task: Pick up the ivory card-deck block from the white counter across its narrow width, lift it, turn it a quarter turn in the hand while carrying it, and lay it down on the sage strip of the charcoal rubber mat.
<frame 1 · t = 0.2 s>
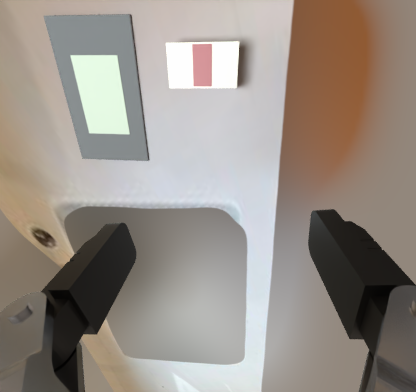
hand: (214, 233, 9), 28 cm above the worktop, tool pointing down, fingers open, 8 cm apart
card deck: (205, 68, 31), on the worktop
mat: (103, 97, 34), on the worktop
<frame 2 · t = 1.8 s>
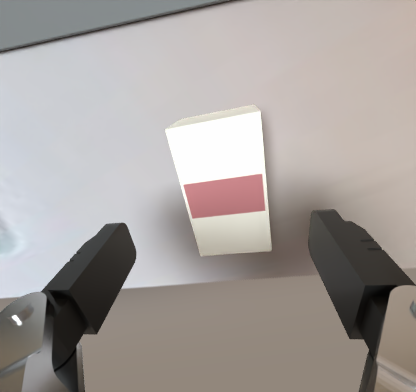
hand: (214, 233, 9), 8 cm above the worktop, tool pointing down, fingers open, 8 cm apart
card deck: (226, 172, 16), on the worktop
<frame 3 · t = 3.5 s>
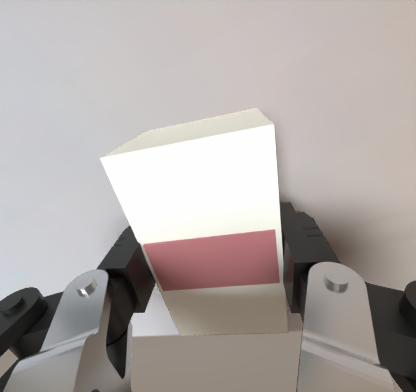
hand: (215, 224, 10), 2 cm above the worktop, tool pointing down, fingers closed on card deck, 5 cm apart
card deck: (217, 207, 11), on the worktop, touching gripper
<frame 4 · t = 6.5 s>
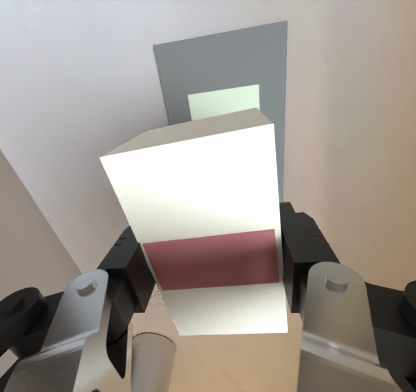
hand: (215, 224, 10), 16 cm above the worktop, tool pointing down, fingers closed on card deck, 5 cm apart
card deck: (217, 206, 11), point 14 cm above the worktop, touching gripper
mat: (227, 144, 24), on the worktop
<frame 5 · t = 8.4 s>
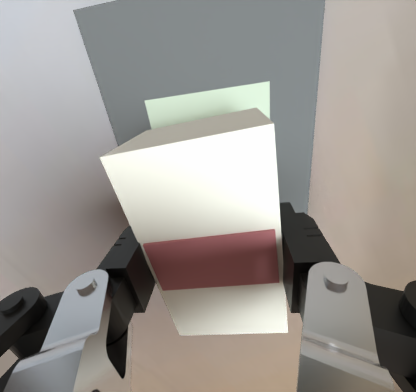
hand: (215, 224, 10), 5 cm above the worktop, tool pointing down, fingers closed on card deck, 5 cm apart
card deck: (217, 206, 11), point 4 cm above the worktop, touching gripper
mat: (216, 179, 15), on the worktop
when the fingers open (3 cm above the worktop, at t = 9.7 s): card deck drops 1 cm, resting on mat.
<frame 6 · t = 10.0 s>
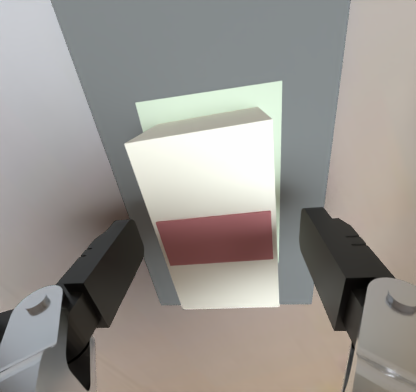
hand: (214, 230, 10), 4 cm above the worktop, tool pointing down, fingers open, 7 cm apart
card deck: (219, 195, 13), resting on mat
mat: (218, 191, 13), on the worktop
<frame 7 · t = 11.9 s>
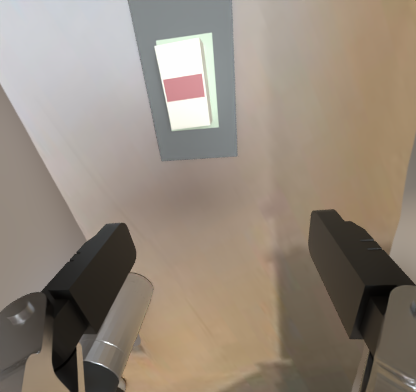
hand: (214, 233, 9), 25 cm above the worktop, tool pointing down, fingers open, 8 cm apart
card deck: (190, 87, 29), resting on mat
mat: (190, 87, 29), on the worktop
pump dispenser: (116, 377, 75), on the worktop
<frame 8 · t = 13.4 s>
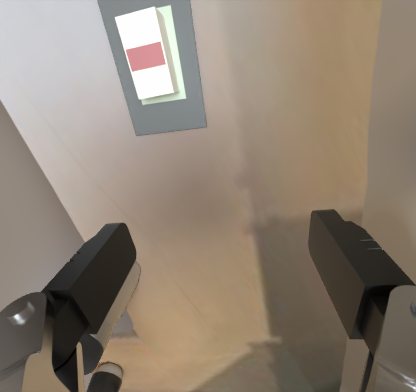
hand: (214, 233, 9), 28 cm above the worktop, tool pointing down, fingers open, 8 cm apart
card deck: (155, 60, 30), resting on mat
mat: (156, 60, 31), on the worktop
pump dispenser: (113, 366, 76), on the worktop
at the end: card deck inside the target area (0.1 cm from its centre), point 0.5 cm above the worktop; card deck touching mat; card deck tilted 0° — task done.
